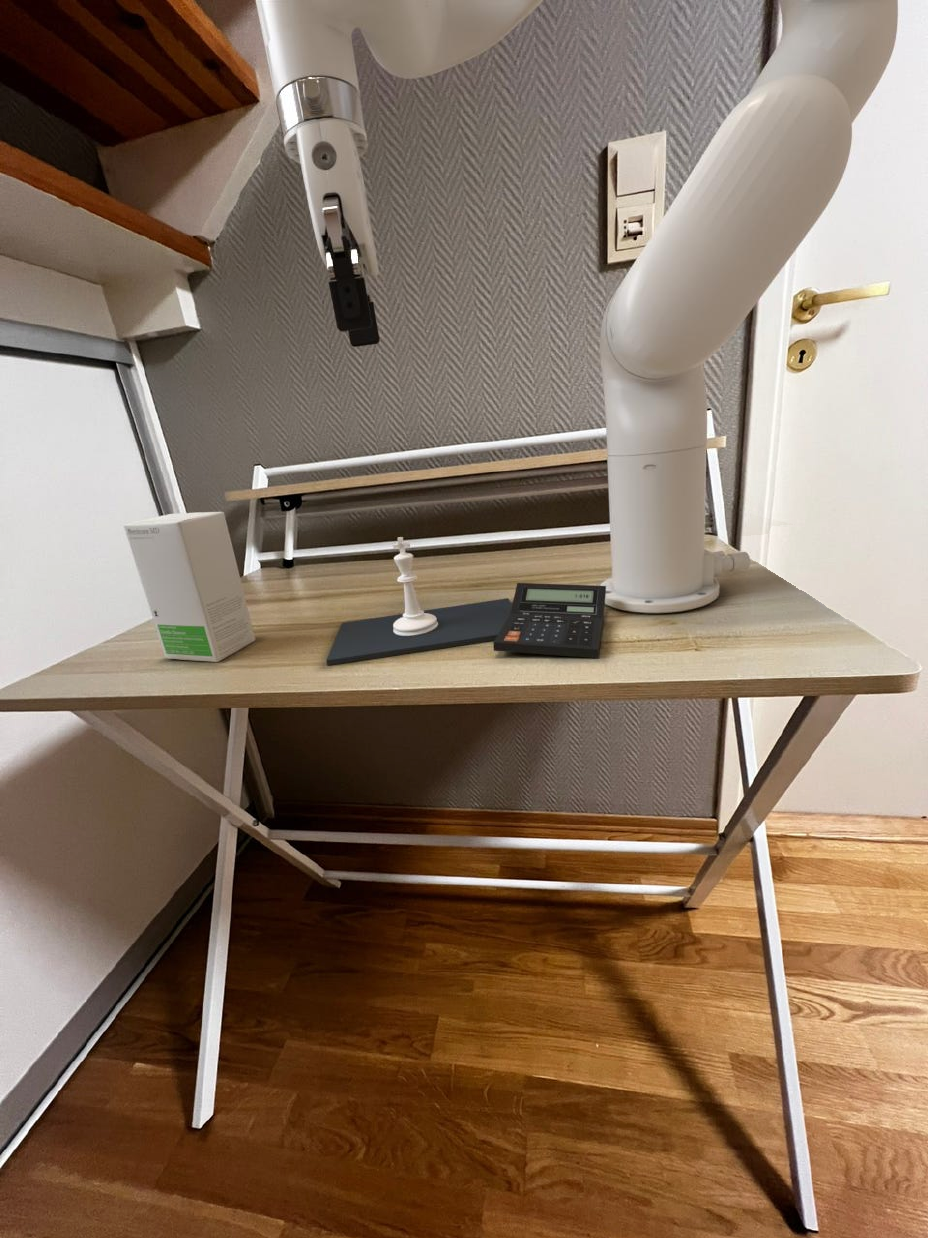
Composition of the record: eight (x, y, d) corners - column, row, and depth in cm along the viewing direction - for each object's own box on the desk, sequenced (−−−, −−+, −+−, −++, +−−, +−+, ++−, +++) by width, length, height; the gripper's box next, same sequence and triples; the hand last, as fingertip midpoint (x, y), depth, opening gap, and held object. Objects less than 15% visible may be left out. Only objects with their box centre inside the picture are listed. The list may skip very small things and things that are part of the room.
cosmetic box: (164, 660, 61) (116, 525, 56) (208, 637, 67) (168, 513, 62) (220, 662, 58) (175, 520, 53) (261, 638, 64) (224, 507, 59)
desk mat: (508, 602, 64) (508, 597, 64) (524, 635, 54) (524, 630, 54) (343, 627, 64) (342, 622, 64) (327, 665, 53) (325, 660, 53)
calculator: (493, 650, 50) (492, 620, 48) (518, 607, 60) (518, 581, 59) (597, 658, 47) (598, 626, 46) (605, 611, 57) (606, 584, 56)
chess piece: (431, 635, 56) (416, 540, 52) (387, 637, 57) (369, 545, 54) (442, 618, 60) (429, 530, 57) (401, 620, 61) (385, 534, 58)
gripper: (353, 61, 41) (393, 315, 46) (372, 167, 57) (400, 345, 63) (254, 74, 40) (307, 327, 46) (302, 176, 57) (336, 354, 62)
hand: (360, 337), depth 54 cm, fingers open, 9 cm apart
